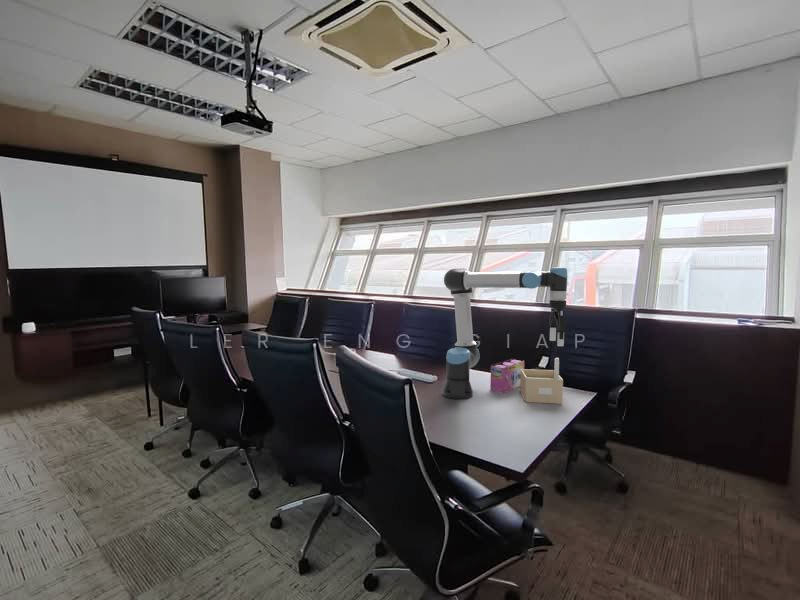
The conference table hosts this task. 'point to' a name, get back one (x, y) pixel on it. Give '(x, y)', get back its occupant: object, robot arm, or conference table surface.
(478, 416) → the conference table surface
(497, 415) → the conference table surface
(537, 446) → the conference table surface
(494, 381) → the gum box
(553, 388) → the front flap
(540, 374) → the carton
